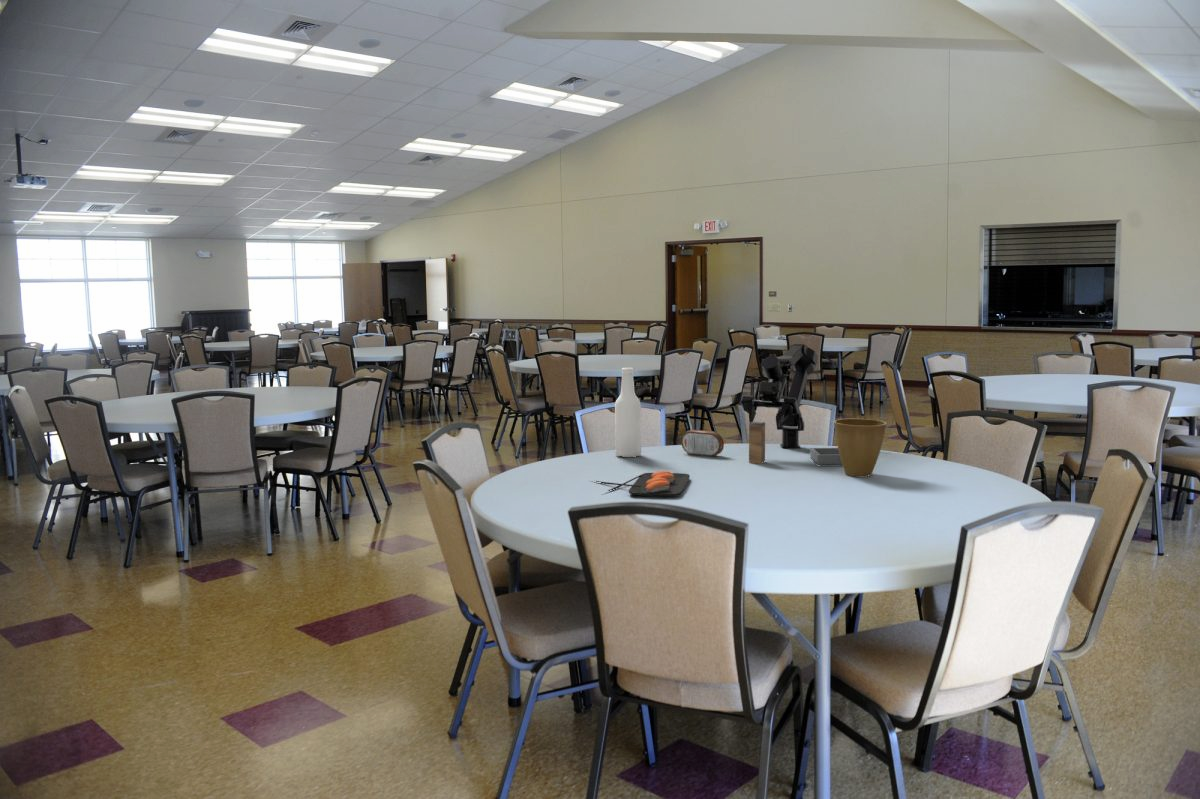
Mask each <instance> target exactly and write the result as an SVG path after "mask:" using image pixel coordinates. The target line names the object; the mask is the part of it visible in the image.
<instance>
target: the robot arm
mask: <svg viewBox="0 0 1200 799" xmlns="http://www.w3.org/2000/svg"><path fill="white" fill-rule="evenodd" d="M818 362H819V357H818V354H817V352H816V351H815V350H813V349H812V348H810V347H808V345H807V344H805V343H793V344H791V346H790V348H789V349H788V350H787V351H786V352H785V353H784V354H783V355H781V356H777V355H776V353H769V356H766V357H765V358H763V359H762V360H761V363H760V364H761V367H762V369H763V373H764V374H765V377H766V378H767V379H768V381H760V382H759V385H758V391H757V392H758V393H760V395H759V397H760V399H761V400H759V399H756V397H755V395H743V396H742V397H741V399H740V403H741V406H742V407H743V411H744V412H746V413H747V414H748V420H749V423H750V422H753V421H754V420H755V418H756V417H755V416H756V415H757V412H756V411H757V409H758V407H761V408H763V407H764V408H768V409H778V410H777V412H776V414H775V423H776V430H777V431H779V430H780V431H782V432H781V443H780V444H779V446H780V447H781V448H782V449H800V448H799V447H802V446H801V445H800V444H799V437H800V436H799V434H800V433H799V432H802V431H805V421H804V418H803V415H802V412H801V409H800V405H801V401H802V397H803V393H804V391H805V387H806V383H807V380H808V376H810V375H811V374H812V372H814V371H815V368H816V366H817V365H818ZM793 373H794V374H793ZM792 374H793V377H792V380H791V384H790V388H789V391H788V395H787V397H784V394H783V393H784V389H785V387H787V376H791V375H792ZM783 397H784V398H783ZM781 399H782V400H783V401H781ZM749 423H748V424H749ZM797 447H798V448H797Z"/></svg>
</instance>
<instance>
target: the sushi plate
mask: <svg viewBox="0 0 1200 799" xmlns="http://www.w3.org/2000/svg"><path fill="white" fill-rule="evenodd" d="M690 477H691V476H690V474H688V473H682V472H681V473H679V472H671V471H668V470H658V471H656V472H643V473H642V474H640V475H638V476H635V477H634V478H631V479H630V480H627V481H625V482H624V483H623V482H622V483H617V482H609V481H608V482H606V481H599V480H595V481H596V482H601V483H604V484H603V485H613V486H614V487H613V488H610V489H609V490H607V491H610V490H613V489H615V490H617V489H619V488H621V487H622V486H625V487H630V488H629V489H628V493H629V494H630V495H636V496H642V497H643V496H644V497H662V496H663V497H672V496H678V495H681V494H682V493H683V491H684V490H685V487H686V485H687V483H688V482H689V480H690ZM634 480H635V482H634V483H633V484H628V483H630V482H632V481H634ZM616 488H617V489H616ZM613 491H614V490H613Z"/></svg>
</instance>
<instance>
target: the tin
mask: <svg viewBox="0 0 1200 799" xmlns="http://www.w3.org/2000/svg"><path fill="white" fill-rule="evenodd" d="M680 442H681V443H680V444H681V447H682V449H683V451H684V452H685V453H687V454H689V455H693V456H694V455H695V456H702V455H703V456H705V457H714V456H718V455H720V454H721V453H722V452H723V450H724V447H725V442H724V439H723V437H722V436H721V434H719V433H718V432H716V431H712V430H700V429H699V430H698V429H690V430H688V431H686V432H685V433H684V434H683V435H682V437H681V441H680ZM703 456H702V457H703Z"/></svg>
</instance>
